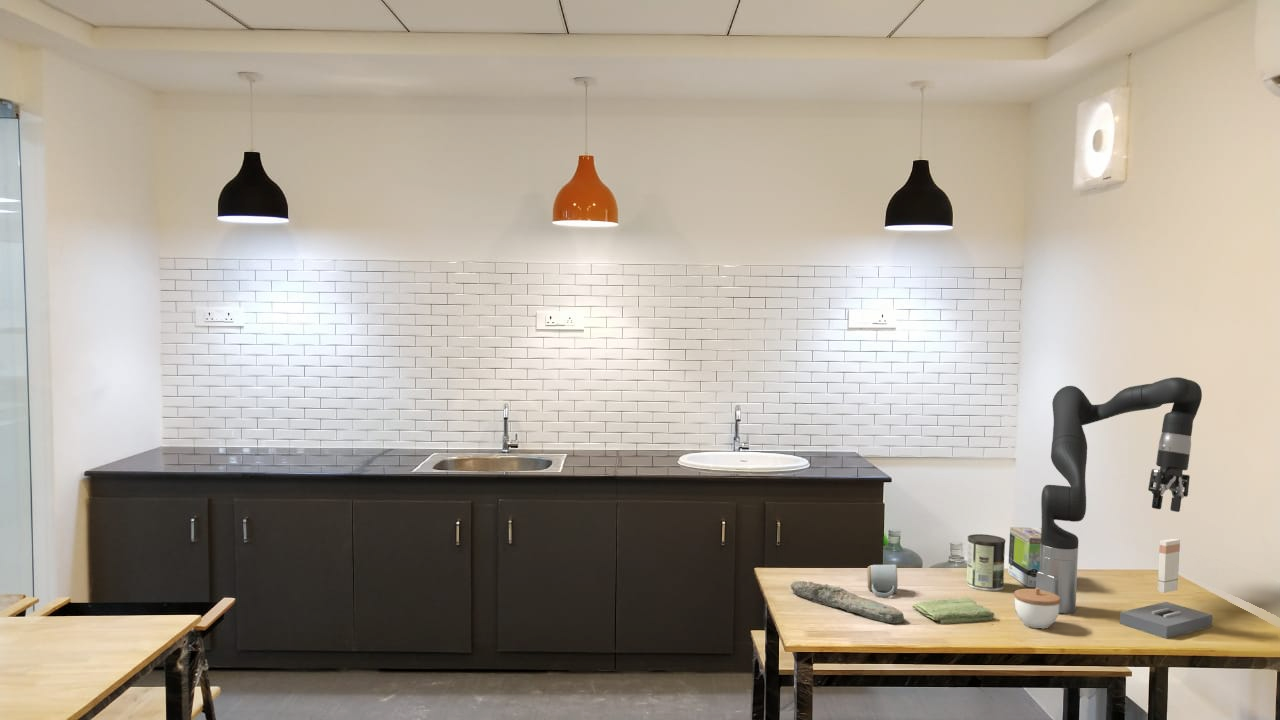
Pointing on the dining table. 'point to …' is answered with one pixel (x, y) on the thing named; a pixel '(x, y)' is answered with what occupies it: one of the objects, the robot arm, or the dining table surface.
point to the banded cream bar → (1168, 565)
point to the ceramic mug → (882, 579)
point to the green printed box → (1024, 554)
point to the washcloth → (954, 610)
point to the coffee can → (985, 562)
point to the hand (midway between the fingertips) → (1165, 510)
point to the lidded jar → (1036, 607)
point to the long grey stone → (847, 601)
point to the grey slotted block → (1166, 619)
